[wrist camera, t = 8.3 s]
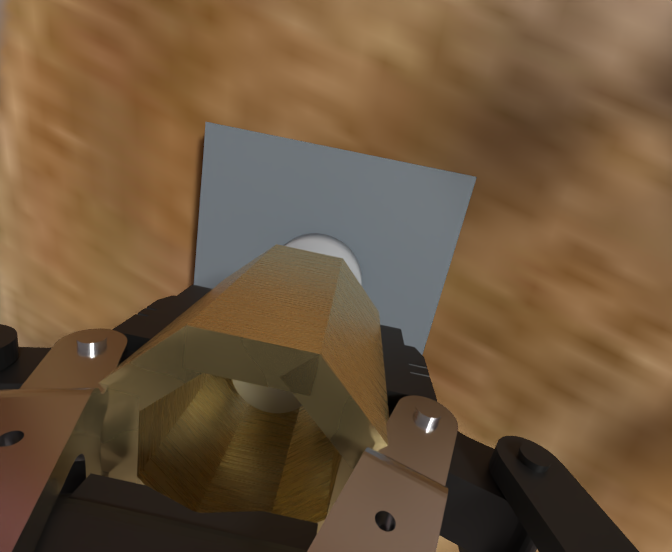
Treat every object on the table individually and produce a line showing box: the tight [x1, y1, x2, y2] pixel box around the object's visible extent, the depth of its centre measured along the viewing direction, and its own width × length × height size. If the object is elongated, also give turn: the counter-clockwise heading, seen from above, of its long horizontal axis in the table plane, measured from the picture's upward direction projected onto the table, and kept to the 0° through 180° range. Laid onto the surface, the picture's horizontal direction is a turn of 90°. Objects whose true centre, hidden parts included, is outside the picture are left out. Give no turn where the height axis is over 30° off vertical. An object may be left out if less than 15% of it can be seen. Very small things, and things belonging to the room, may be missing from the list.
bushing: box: [99, 244, 389, 533], centre depth 9 cm, size 5×5×6 cm
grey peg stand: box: [194, 122, 477, 413], centre depth 14 cm, size 12×12×10 cm
